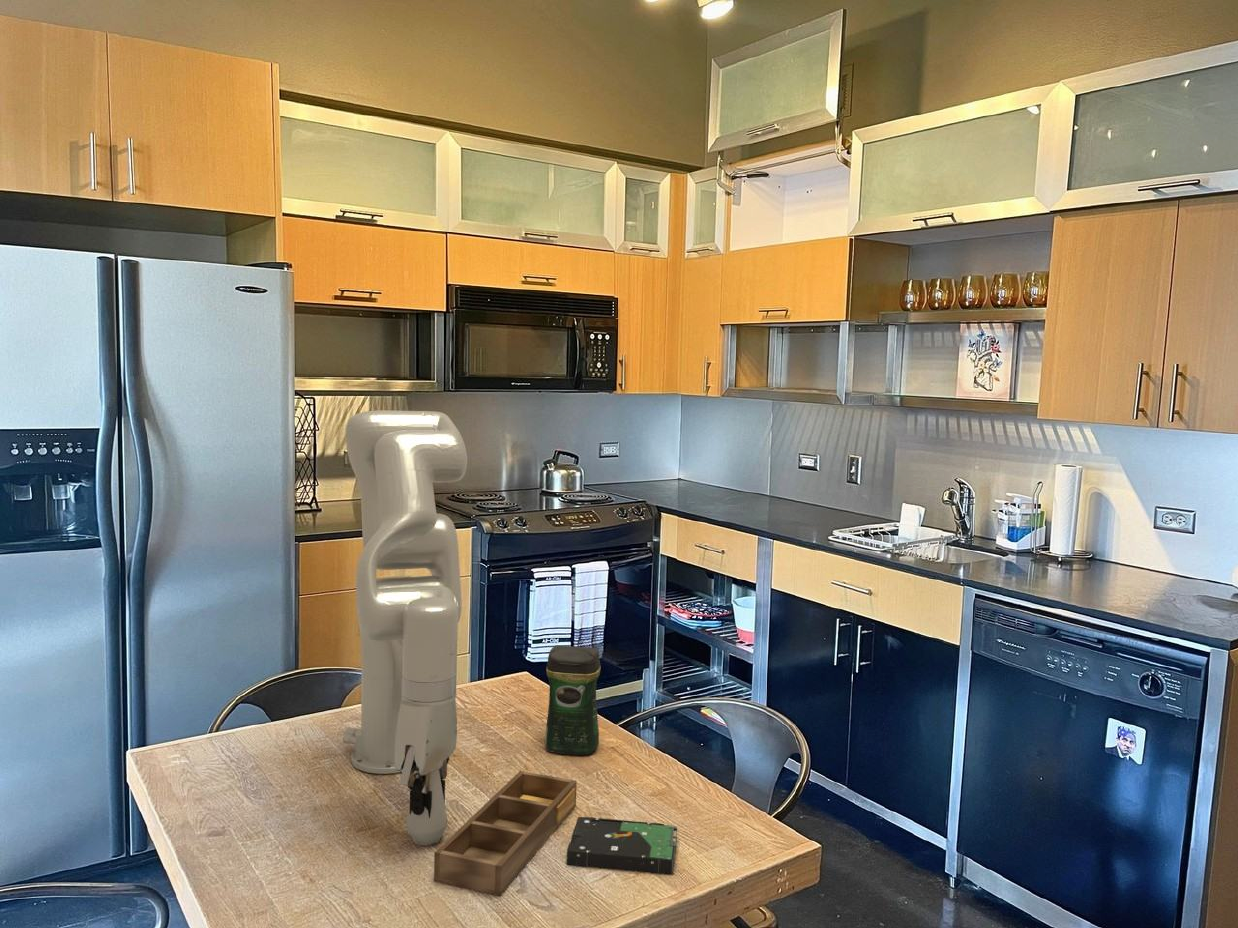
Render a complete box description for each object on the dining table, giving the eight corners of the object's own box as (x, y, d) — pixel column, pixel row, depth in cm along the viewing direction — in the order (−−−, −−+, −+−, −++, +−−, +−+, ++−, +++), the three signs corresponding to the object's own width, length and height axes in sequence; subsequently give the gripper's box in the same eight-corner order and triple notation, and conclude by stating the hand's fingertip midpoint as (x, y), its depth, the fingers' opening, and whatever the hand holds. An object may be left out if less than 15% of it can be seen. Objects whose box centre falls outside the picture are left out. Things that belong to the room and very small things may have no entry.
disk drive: (565, 870, 127) (674, 878, 125) (566, 850, 126) (674, 858, 125) (576, 833, 137) (677, 840, 136) (577, 815, 137) (677, 822, 135)
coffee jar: (601, 741, 170) (604, 643, 168) (593, 758, 162) (597, 655, 161) (550, 736, 172) (553, 639, 170) (540, 753, 164) (542, 651, 162)
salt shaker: (437, 851, 129) (438, 761, 128) (399, 845, 130) (400, 756, 129) (453, 831, 135) (454, 745, 133) (416, 825, 136) (417, 740, 135)
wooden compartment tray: (434, 881, 122) (434, 852, 121) (519, 794, 147) (520, 770, 147) (502, 896, 119) (503, 866, 118) (577, 805, 144) (578, 781, 144)
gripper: (434, 665, 139) (432, 782, 141) (373, 701, 124) (372, 832, 126) (479, 672, 137) (477, 791, 139) (423, 710, 121) (421, 843, 123)
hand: (427, 809), depth 132 cm, fingers closed on salt shaker, 3 cm apart
